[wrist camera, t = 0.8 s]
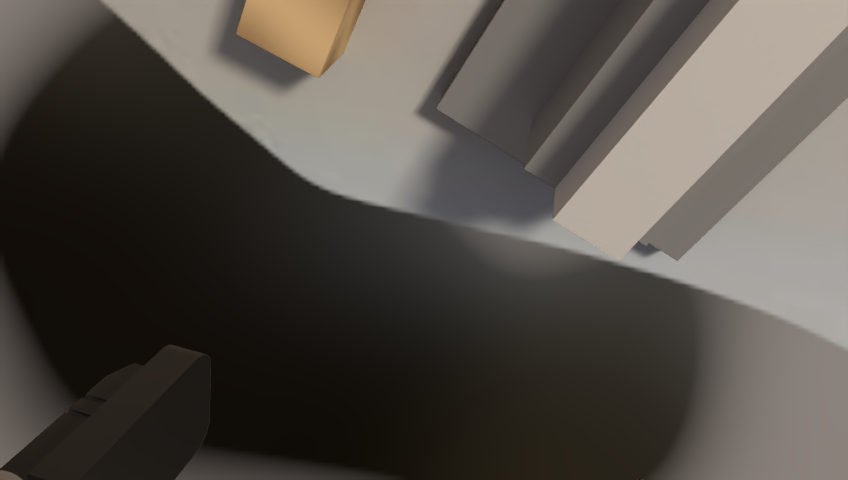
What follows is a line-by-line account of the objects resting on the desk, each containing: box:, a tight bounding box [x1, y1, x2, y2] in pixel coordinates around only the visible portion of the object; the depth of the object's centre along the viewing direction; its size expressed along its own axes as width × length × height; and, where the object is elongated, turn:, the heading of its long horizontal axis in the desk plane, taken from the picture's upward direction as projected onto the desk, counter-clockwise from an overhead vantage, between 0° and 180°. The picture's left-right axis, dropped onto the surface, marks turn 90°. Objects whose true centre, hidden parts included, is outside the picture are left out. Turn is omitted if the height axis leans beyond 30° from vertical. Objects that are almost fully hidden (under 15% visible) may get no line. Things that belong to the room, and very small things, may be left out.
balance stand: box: [436, 0, 848, 261], centre depth 25 cm, size 14×18×9 cm
